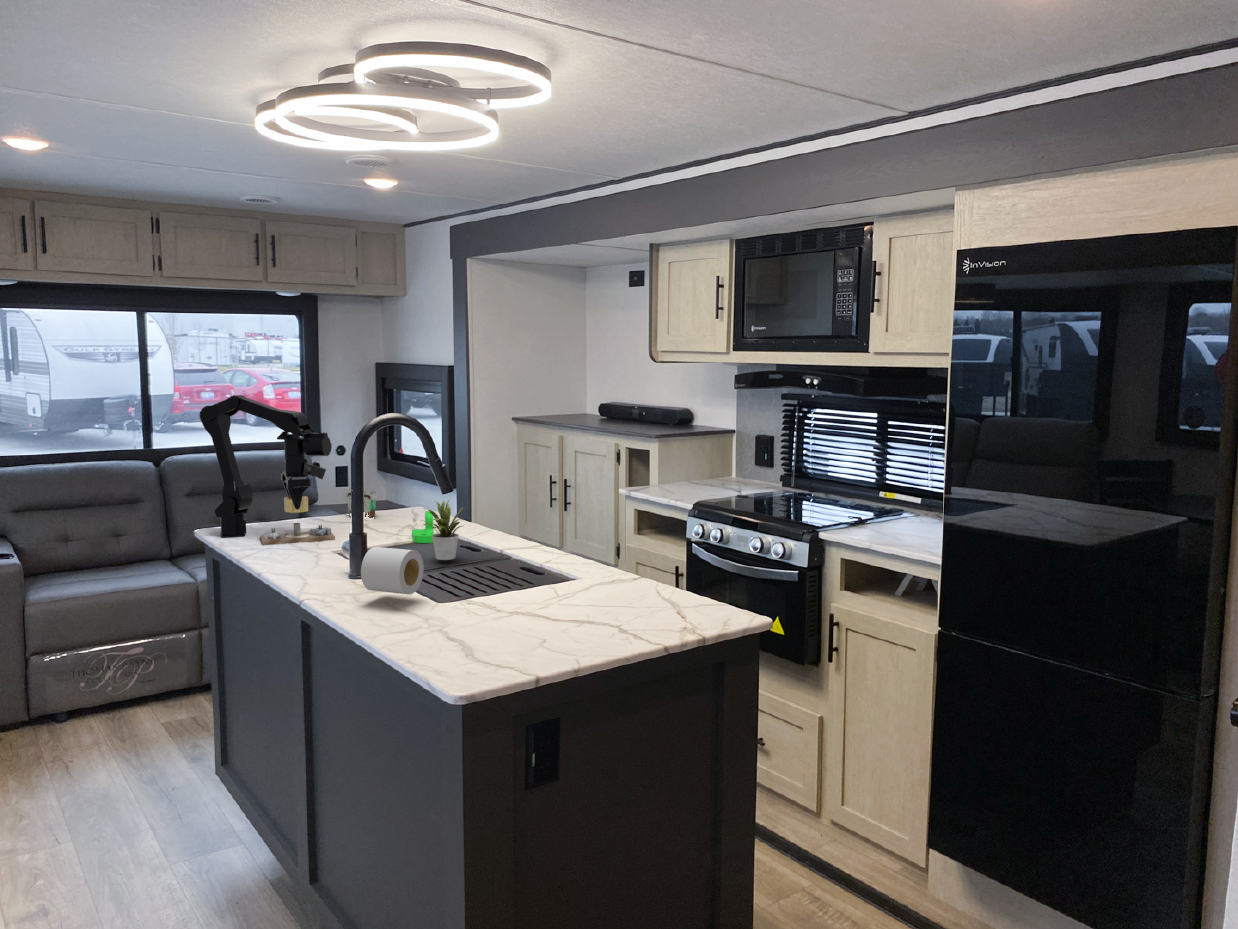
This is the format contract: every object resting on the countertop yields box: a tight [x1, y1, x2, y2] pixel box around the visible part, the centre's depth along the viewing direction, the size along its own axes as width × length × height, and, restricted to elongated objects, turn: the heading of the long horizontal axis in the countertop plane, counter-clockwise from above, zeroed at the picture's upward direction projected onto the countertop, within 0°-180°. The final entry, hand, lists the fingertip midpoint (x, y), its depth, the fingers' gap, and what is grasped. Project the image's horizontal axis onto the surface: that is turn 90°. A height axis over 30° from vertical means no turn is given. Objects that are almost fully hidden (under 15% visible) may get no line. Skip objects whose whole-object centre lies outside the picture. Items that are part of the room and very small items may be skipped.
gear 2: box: [309, 524, 332, 536], centre depth 272 cm, size 6×6×3 cm
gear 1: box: [261, 527, 286, 539], centre depth 267 cm, size 6×6×3 cm
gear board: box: [259, 522, 336, 546], centre depth 269 cm, size 20×10×5 cm, turn 116°
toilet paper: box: [360, 546, 425, 595], centre depth 208 cm, size 10×10×10 cm
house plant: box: [417, 498, 465, 561], centre depth 246 cm, size 14×14×16 cm
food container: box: [345, 489, 379, 518], centre depth 303 cm, size 12×6×10 cm, turn 58°
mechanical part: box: [411, 510, 435, 544], centre depth 273 cm, size 12×6×8 cm, turn 16°
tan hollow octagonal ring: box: [283, 495, 309, 514], centre depth 269 cm, size 6×6×4 cm
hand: (296, 507), depth 269 cm, fingers closed on tan hollow octagonal ring, 6 cm apart
